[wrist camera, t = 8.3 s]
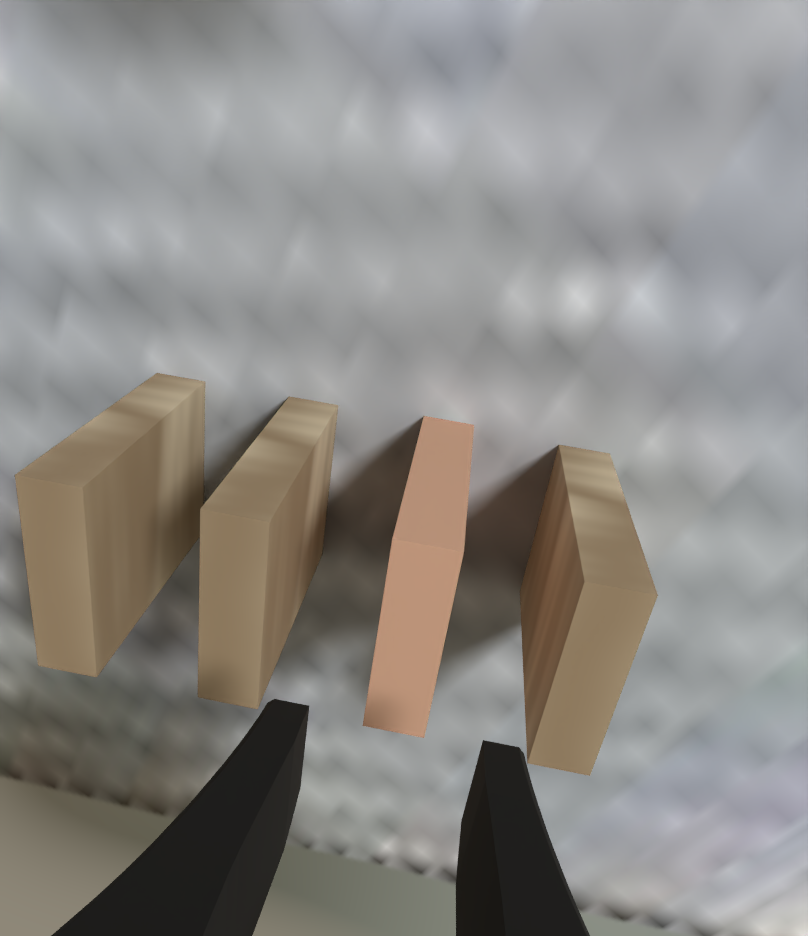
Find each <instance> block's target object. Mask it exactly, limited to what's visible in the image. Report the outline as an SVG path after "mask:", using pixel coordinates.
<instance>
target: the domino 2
mask: <svg viewBox="0 0 808 936" xmlns="http://www.w3.org/2000/svg"><path fill="white" fill-rule="evenodd" d="M473 431H474V425H472V424H466V423H460V422H455V421H449V420H443V419H438V418H432V417H427V416H424V417H423V421H422V425H421V429H420V433H419V437H418V441H417V445H416V449H415V452H414V456H413V460H412V464H411V468H410V472H409V476H408V480H407V484H406V487H405V491H404V495H403V499H402V503H401V507H400V511H399V515H398V519H397V523H396V526H395V530H394V534H393V538H392V544H391V550H390V557H389V563H388V569H387V576H386V582H385V588H384V595H383V601H382V607H381V614H380V620H379V626H378V632H377V639H376V645H375V651H374V658H373V664H372V670H371V677H370V683H369V689H368V696H367V702H366V708H365V715H364V721H363V726H367V727H372V728H377V729H382V730H387V731H392V732H398V733H403V734H408V735H413V736H418V737H423V738H424V736H425V731H426V727H427V722H428V717H429V713H430V708H431V703H432V699H433V694H434V689H435V685H436V680H437V675H438V671H439V666H440V661H441V657H442V652H443V647H444V643H445V638H446V633H447V629H448V624H449V619H450V615H451V610H452V605H453V601H454V596H455V591H456V587H457V582H458V577H459V573H460V568H461V563H462V559H463V554H464V545H465V532H466V520H467V507H468V494H469V482H470V469H471V456H472V444H473Z"/></svg>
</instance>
